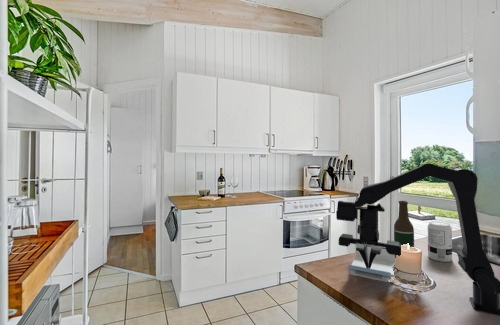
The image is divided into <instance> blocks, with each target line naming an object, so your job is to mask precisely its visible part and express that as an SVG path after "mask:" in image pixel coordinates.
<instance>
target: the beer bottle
mask: <svg viewBox="0 0 500 325" xmlns="http://www.w3.org/2000/svg"><path fill="white" fill-rule="evenodd" d="M408 205H409V203H408V201H407V200H399V201H398V218H396V221H395V222H394V224H393V239H394V240H393V241H395V242H399V243H400V244H401V245H403V244H407V243H409V245H410V247H414V248H415V231H414V230H415V228H414V225H413V223H412V222H411V220H410V217H409V209H408Z"/></svg>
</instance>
